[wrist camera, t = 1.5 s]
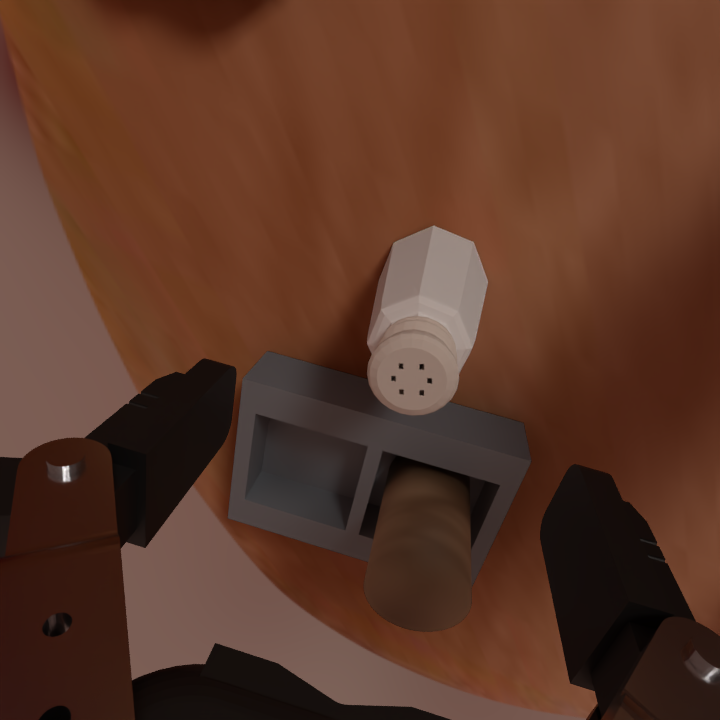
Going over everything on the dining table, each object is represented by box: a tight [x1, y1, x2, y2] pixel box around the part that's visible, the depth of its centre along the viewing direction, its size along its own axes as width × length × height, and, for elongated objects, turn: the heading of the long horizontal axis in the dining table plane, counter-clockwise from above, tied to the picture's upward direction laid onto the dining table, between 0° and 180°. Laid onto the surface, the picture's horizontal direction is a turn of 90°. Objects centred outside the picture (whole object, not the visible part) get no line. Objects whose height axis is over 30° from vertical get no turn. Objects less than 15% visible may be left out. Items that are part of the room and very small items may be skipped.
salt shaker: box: [367, 226, 488, 416], centre depth 19 cm, size 5×5×11 cm
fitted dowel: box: [364, 455, 472, 632], centre depth 25 cm, size 5×5×8 cm
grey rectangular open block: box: [228, 351, 531, 586], centre depth 28 cm, size 15×10×4 cm, turn 78°
